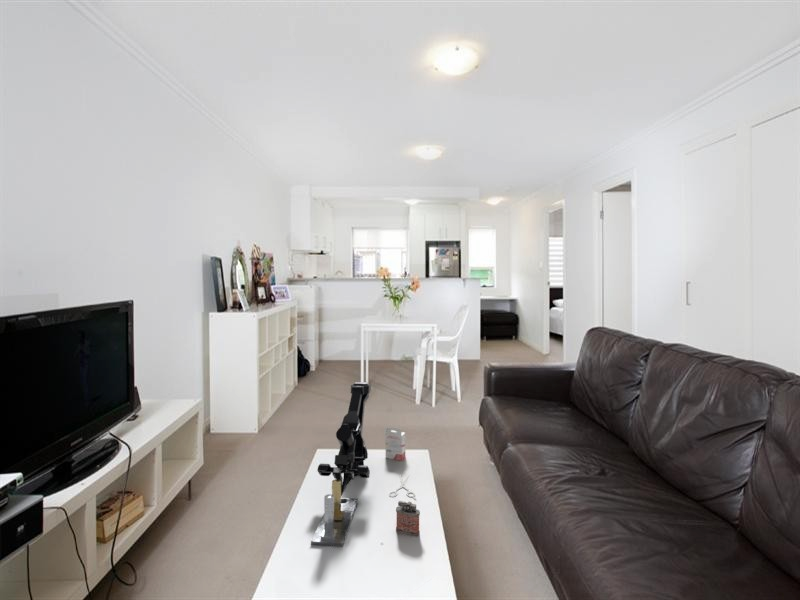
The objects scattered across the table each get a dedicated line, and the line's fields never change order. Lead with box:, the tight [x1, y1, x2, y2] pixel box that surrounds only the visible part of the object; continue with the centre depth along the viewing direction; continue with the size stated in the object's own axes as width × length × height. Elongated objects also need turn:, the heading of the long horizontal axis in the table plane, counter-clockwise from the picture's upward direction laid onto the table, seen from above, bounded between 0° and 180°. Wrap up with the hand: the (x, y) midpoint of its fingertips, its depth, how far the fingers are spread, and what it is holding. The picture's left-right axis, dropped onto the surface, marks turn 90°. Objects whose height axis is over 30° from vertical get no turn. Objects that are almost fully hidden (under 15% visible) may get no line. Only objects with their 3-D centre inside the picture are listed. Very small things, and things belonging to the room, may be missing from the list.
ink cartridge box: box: [385, 426, 406, 461], centre depth 182 cm, size 9×5×15 cm, turn 68°
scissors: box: [388, 474, 417, 501], centre depth 157 cm, size 11×1×20 cm
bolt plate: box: [310, 493, 359, 548], centre depth 133 cm, size 25×10×14 cm, turn 175°
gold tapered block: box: [331, 478, 344, 520], centre depth 133 cm, size 4×4×12 cm
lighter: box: [395, 500, 421, 538], centre depth 127 cm, size 8×3×10 cm, turn 71°
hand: (340, 495), depth 138 cm, fingers closed
